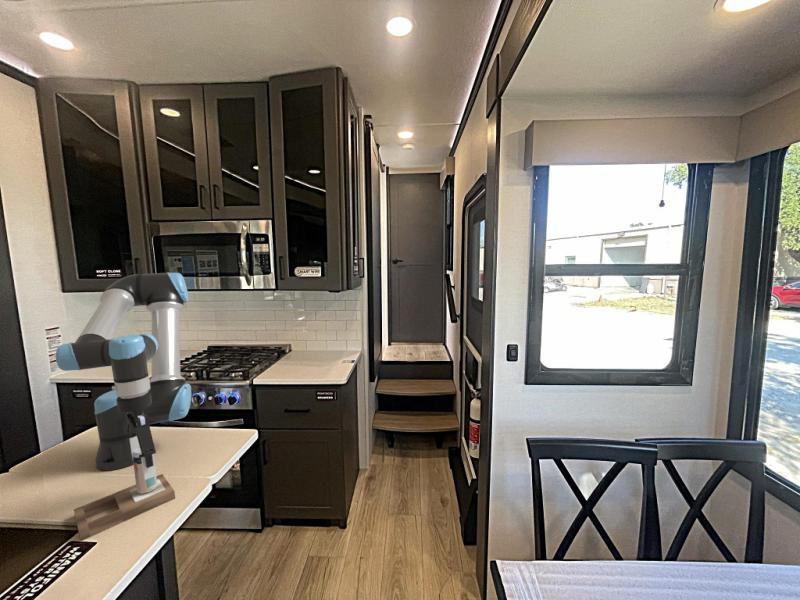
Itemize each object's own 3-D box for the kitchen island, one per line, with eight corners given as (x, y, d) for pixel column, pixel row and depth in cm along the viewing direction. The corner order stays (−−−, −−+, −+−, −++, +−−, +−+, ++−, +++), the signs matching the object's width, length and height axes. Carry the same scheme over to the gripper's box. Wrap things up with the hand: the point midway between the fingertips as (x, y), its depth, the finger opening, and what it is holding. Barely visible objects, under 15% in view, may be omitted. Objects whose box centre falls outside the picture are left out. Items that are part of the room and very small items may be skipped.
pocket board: (75, 517, 96) (73, 508, 96) (163, 480, 110) (162, 473, 110) (80, 540, 88) (79, 531, 87) (175, 498, 102) (174, 490, 102)
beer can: (143, 485, 104) (137, 445, 103) (161, 483, 105) (156, 443, 103) (133, 496, 100) (127, 454, 98) (152, 494, 100) (146, 453, 99)
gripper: (107, 386, 104) (118, 456, 107) (126, 411, 87) (138, 493, 90) (139, 379, 110) (148, 446, 112) (162, 401, 92) (173, 478, 95)
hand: (144, 467), depth 101 cm, fingers open, 13 cm apart
